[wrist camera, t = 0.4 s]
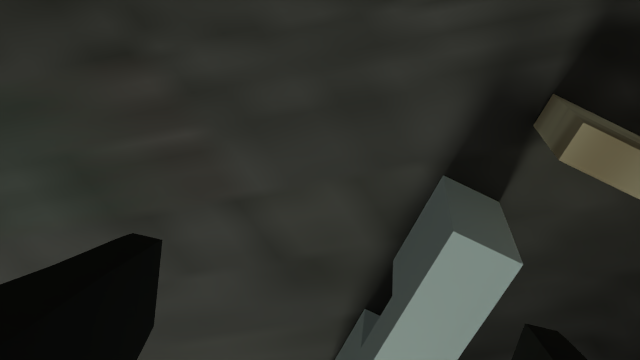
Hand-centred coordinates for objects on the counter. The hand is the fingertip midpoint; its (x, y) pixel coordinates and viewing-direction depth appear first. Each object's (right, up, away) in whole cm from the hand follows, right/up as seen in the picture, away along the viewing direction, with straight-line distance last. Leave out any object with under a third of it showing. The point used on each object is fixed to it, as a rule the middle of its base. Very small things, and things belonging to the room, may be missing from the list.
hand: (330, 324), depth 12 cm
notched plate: (+3, -2, +11) cm, 12 cm away
